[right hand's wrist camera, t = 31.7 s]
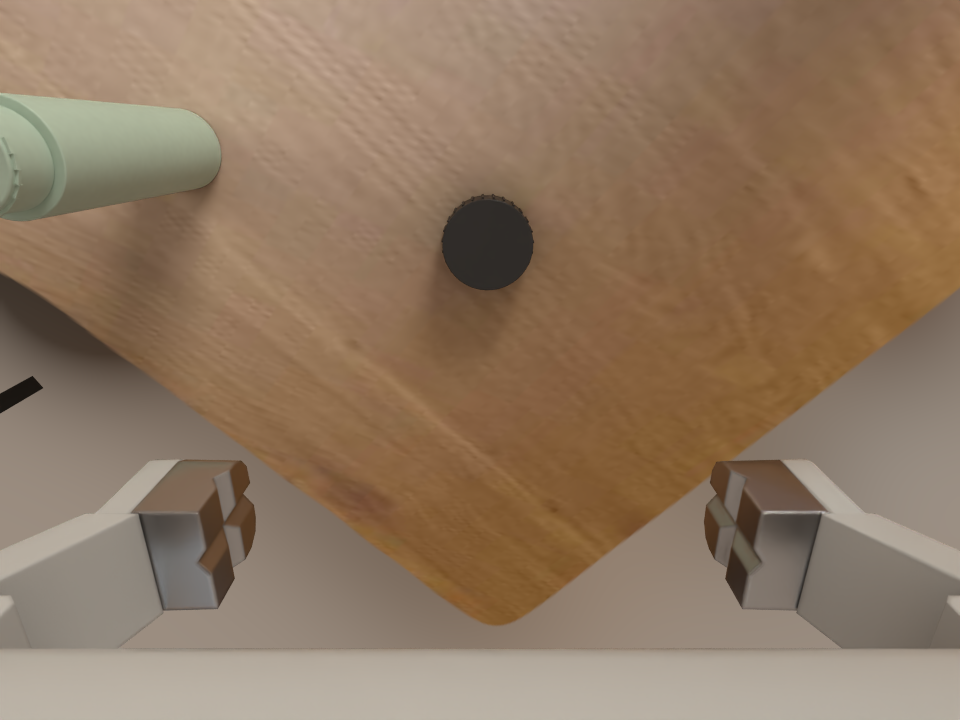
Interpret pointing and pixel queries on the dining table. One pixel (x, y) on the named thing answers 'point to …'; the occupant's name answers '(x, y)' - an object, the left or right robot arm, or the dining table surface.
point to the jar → (97, 154)
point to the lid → (487, 242)
